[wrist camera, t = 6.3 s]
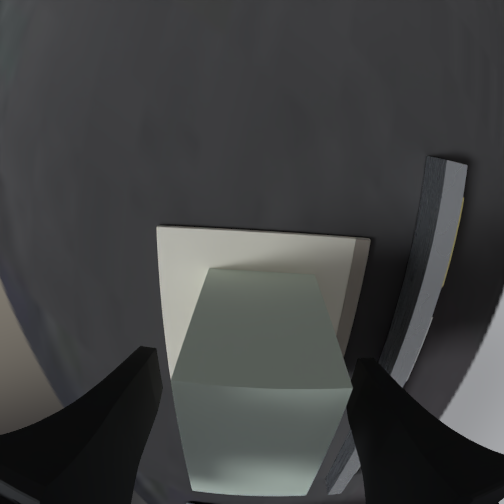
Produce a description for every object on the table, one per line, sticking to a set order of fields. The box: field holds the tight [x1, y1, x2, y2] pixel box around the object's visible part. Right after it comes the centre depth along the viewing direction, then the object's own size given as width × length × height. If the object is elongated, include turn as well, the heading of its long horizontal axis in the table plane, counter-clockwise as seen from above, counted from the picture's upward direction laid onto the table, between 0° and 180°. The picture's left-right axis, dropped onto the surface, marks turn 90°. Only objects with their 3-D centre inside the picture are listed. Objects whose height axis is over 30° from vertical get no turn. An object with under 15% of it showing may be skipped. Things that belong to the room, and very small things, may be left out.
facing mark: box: [157, 225, 371, 378], centre depth 13 cm, size 9×8×1 cm
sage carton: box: [171, 268, 353, 496], centre depth 10 cm, size 4×6×6 cm
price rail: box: [326, 156, 468, 495], centre depth 13 cm, size 22×1×2 cm, turn 177°
